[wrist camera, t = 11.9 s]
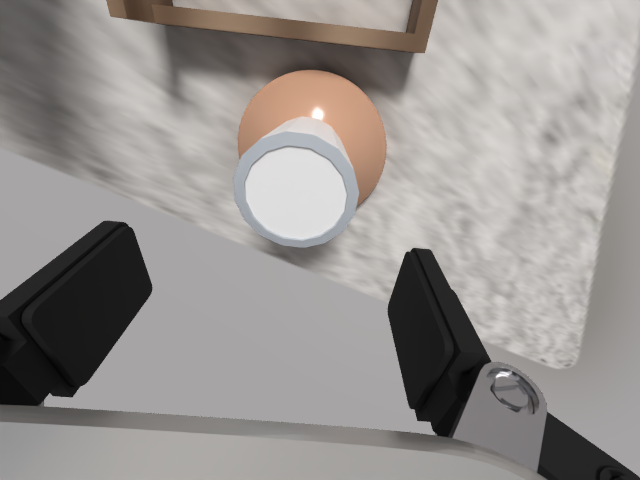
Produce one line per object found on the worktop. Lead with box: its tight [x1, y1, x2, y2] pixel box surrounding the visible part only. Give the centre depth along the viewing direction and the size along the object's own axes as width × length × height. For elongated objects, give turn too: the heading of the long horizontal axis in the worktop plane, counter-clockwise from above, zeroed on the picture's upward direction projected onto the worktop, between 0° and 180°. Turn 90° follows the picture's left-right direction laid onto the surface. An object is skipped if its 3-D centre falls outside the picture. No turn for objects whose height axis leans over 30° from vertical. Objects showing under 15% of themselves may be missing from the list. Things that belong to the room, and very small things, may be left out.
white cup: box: [233, 116, 359, 248], centre depth 18 cm, size 7×7×7 cm
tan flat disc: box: [238, 69, 386, 207], centre depth 21 cm, size 11×11×1 cm
